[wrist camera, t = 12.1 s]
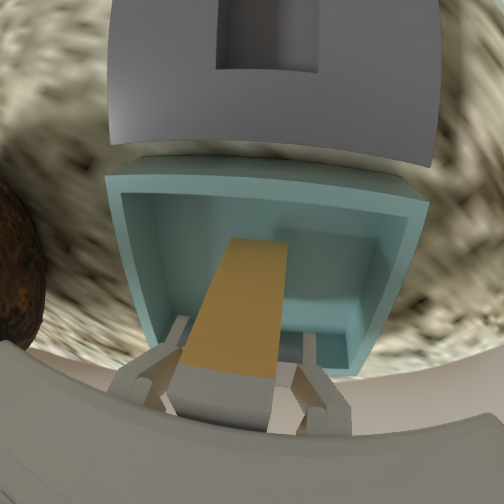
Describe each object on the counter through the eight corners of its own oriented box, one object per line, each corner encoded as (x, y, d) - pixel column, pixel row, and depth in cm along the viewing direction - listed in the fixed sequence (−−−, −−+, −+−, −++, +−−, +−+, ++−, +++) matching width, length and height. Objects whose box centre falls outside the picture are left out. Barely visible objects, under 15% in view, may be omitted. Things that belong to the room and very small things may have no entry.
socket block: (147, -46, 6) (125, -60, 4) (409, -40, 5) (426, -57, 3) (137, 135, 13) (110, 145, 10) (408, 155, 11) (430, 168, 9)
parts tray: (142, 156, 13) (104, 175, 10) (401, 176, 12) (430, 202, 9) (168, 313, 19) (150, 348, 16) (351, 336, 18) (356, 376, 15)
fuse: (231, 236, 13) (166, 392, 6) (287, 242, 12) (271, 412, 6) (232, 314, 15) (194, 446, 8) (278, 319, 15) (259, 458, 8)
